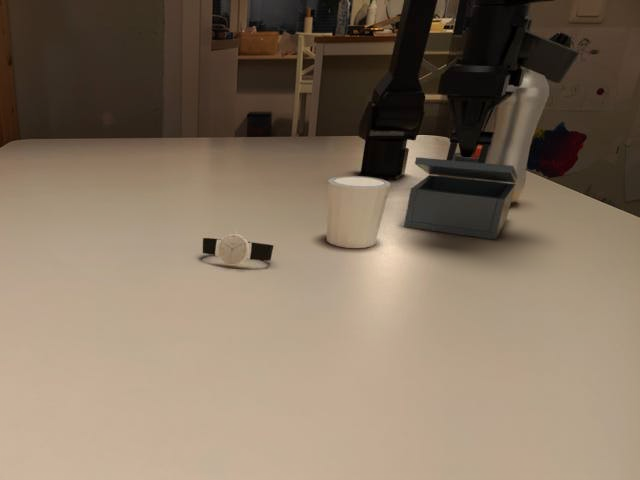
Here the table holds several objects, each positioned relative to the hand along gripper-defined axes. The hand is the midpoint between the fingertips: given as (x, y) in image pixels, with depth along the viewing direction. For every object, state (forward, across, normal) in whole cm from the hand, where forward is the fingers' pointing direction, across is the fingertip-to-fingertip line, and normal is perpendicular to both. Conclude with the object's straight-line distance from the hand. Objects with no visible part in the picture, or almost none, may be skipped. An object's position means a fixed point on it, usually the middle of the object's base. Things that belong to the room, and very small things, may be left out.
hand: (467, 156), depth 74 cm
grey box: (+9, +3, 0) cm, 9 cm away
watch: (+9, -26, +17) cm, 33 cm away
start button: (+6, +37, +4) cm, 37 cm away
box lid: (+3, +2, 0) cm, 4 cm away
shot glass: (+9, -12, +9) cm, 18 cm away
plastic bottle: (+9, +18, -3) cm, 20 cm away
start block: (+9, +37, +4) cm, 38 cm away
